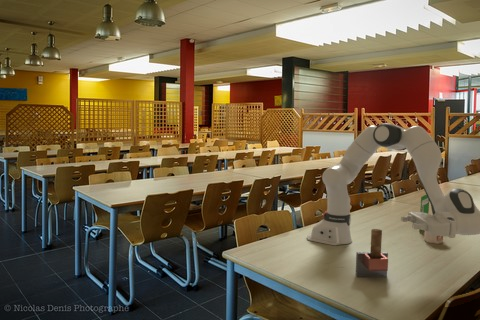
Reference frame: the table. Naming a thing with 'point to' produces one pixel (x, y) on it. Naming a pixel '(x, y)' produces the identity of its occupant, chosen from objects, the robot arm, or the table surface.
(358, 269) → the drawer
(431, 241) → the teacup with lid
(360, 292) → the table surface
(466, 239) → the table surface
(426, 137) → the robot arm
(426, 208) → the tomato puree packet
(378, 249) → the brown cylinder
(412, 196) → the table surface
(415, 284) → the table surface
